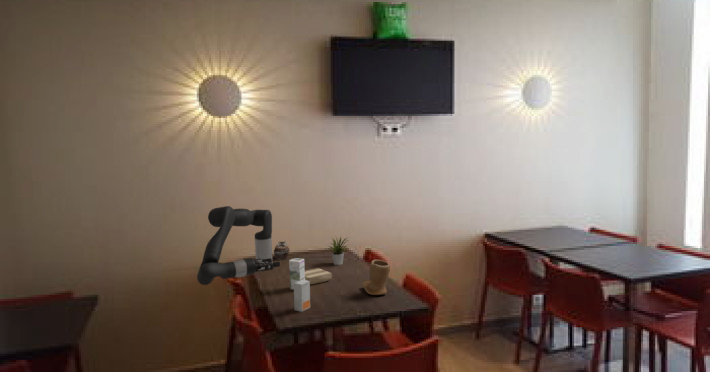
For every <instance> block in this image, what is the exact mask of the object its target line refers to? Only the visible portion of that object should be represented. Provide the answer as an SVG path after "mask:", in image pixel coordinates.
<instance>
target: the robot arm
mask: <svg viewBox="0 0 710 372" xmlns="http://www.w3.org/2000/svg"><path fill="white" fill-rule="evenodd" d="M207 220H208V222H209V224H210V225H212V227H215V228H218V229H217V231H216V232H215V234H213V235H212V237H211V238H210V239H209V240H208V242H207V244H206V246H205V250H204V253H203V256H202V257H203V258H202V261H201V264H200V267H199V268H198V272H197V273H196V274H197V275H196V279H197V282H198V283H199V284H200V285H202V286H207V285H209V284H211V283H212V282H213V281H214V279H215V278H217V277H220V278H221V279H223V280H226V279H233V278H241V277H247V276H252V275H255V273H256V270H257V271H260V272H266V271H272V270H274V268H279V267H280V266H281V262H280V261H274V262H273V243H272V242H273V241H272V240H273V239H272V233H273V215H272V212H271V210H269V209H252V210H249V208H248V209H247V208H233V207H231V206H230V205H228V206H227V205H226V206H221V207H215V208H212V209H211V210H210V211H209V212H208V215H207ZM247 226H253V227H254V226H255V227H262V230H260V231H258V232H256V233H254V250H255V259H254V258H251V257H249V258H248V257H247V258H243V259H237V260H234V261H227V262H220V258H221V255H222V251H223V247H224V244H225V242H226V239H227V238H228V236H229V233H230V231H231V229H232V227H247Z"/></svg>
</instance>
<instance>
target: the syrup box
mask: <svg viewBox="0 0 710 372" xmlns="http://www.w3.org/2000/svg"><path fill="white" fill-rule="evenodd" d="M288 263H289V264H288V266H289V268H288V269H289V290H292V291H294V283H296V282H298V281H300V280H305V271H306V270H305V258H300V257H299V258H297V257H296V258H295V257H294V258H291V259H289V260H288Z"/></svg>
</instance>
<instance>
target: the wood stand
mask: <svg viewBox="0 0 710 372" xmlns="http://www.w3.org/2000/svg"><path fill="white" fill-rule="evenodd" d="M332 279H333V273H332V272H330V271H327V270H324V269H322V268H319V267H316V268H311V269H306V270H305V280H307V281H310V286H312V285H315V284H316V285H317V284H321V283H324V282H328V281H329V280H332Z"/></svg>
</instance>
